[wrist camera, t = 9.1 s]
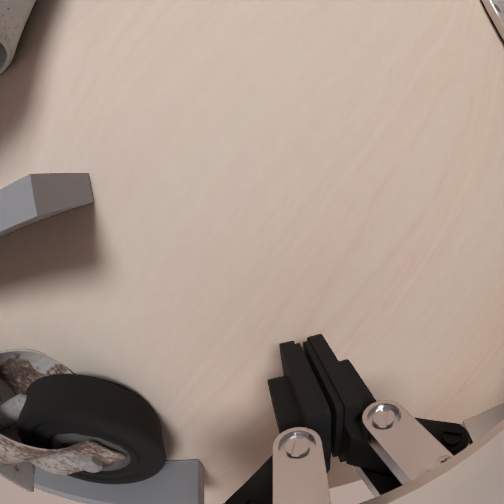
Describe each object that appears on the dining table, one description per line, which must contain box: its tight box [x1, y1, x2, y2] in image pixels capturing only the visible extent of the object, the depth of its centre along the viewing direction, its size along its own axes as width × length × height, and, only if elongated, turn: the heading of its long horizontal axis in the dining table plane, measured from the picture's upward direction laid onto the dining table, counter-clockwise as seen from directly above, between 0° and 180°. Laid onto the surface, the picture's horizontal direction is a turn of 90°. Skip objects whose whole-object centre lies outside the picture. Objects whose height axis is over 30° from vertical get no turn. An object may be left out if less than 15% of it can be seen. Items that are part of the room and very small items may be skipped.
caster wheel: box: [0, 349, 166, 492], centre depth 10 cm, size 7×11×10 cm
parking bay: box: [0, 173, 204, 504], centre depth 9 cm, size 16×18×4 cm
